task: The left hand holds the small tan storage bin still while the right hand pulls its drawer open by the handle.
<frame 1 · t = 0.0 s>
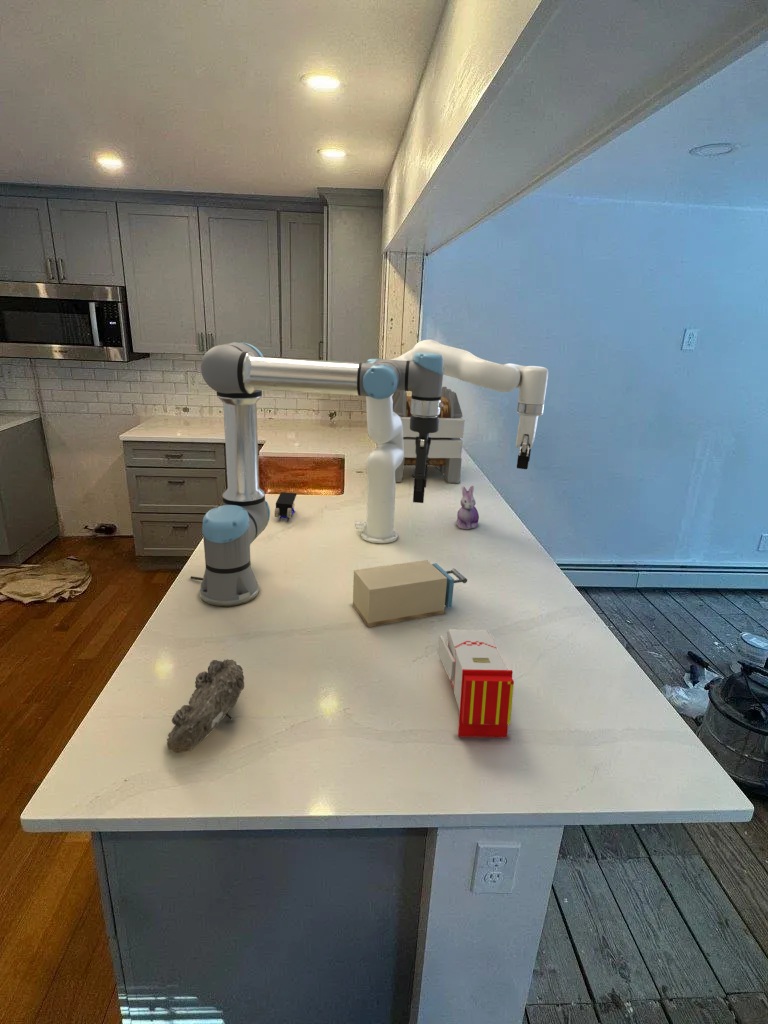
left hand: (419, 494, 153), 28 cm above the counter, tool pointing down, fingers open, 13 cm apart
right hand: (523, 464, 174), 31 cm above the counter, tool pointing down, fingers open, 9 cm apart
fossil: (212, 717, 108), on the counter
figurine: (467, 525, 210), on the counter
figurine character: (285, 517, 211), on the counter
drawer: (419, 588, 150), point 5 cm above the counter, slide at 1.3 cm
tan storage bin: (398, 609, 150), on the counter
toy: (469, 691, 119), on the counter
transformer: (419, 473, 275), on the counter
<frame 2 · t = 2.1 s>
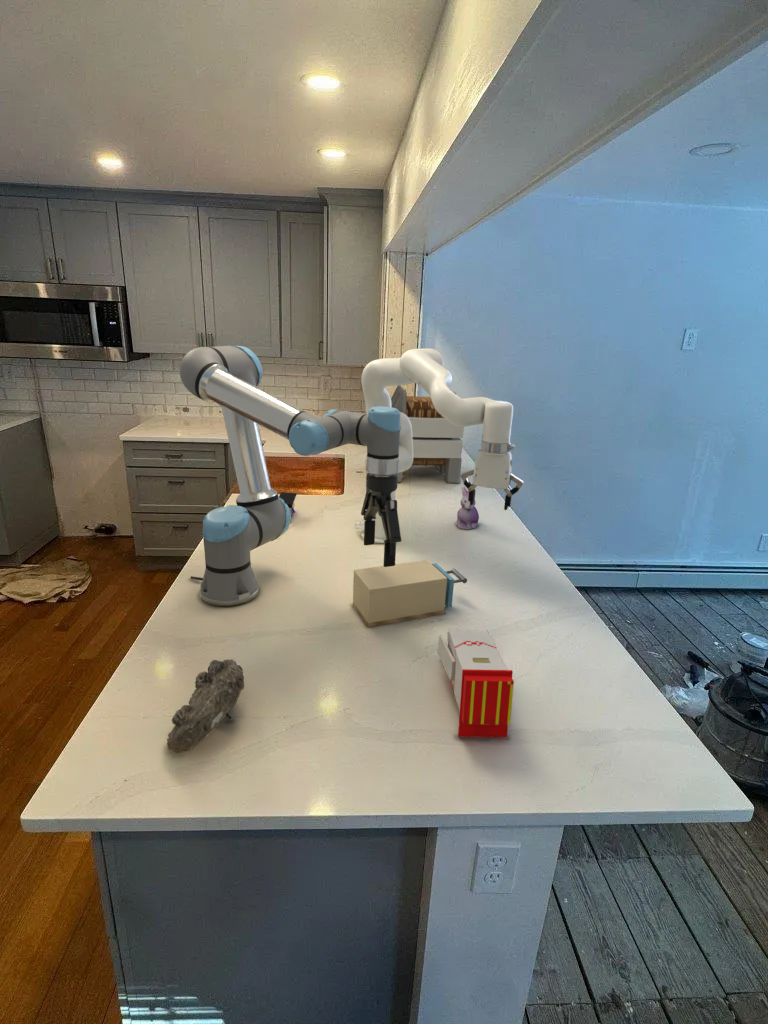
left hand: (378, 554, 142), 17 cm above the counter, tool pointing down, fingers open, 13 cm apart
right hand: (488, 506, 161), 23 cm above the counter, tool pointing down, fingers open, 9 cm apart
nothing on the counter moved.
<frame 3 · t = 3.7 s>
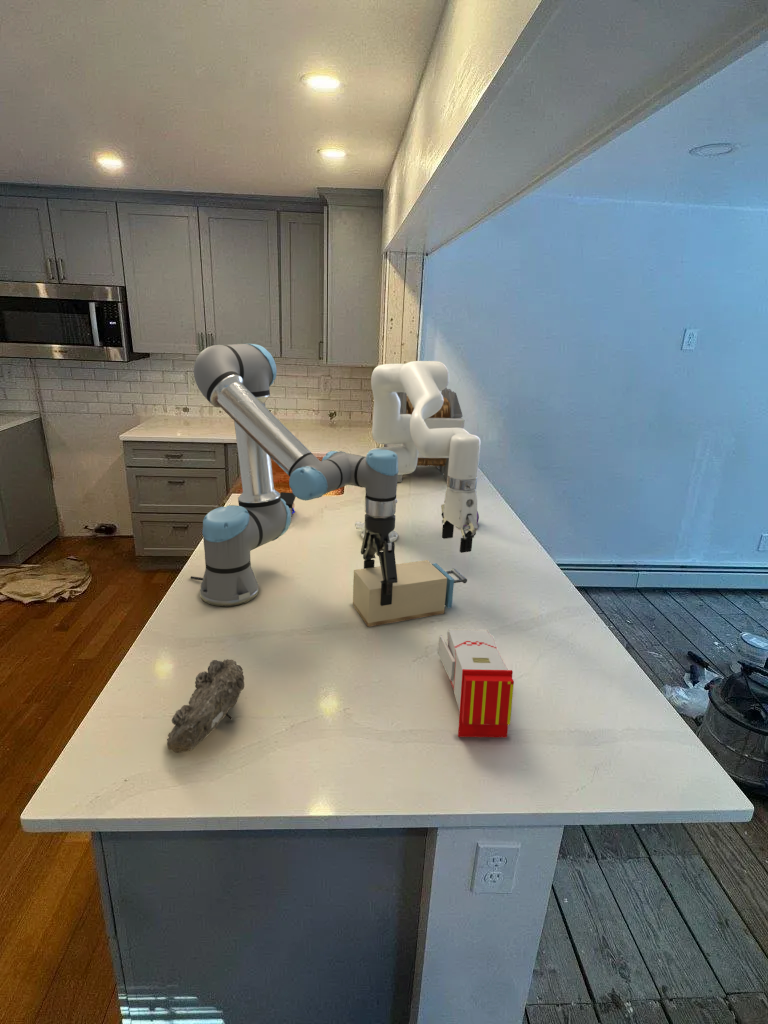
left hand: (376, 593, 146), 6 cm above the counter, tool pointing down, fingers closed on tan storage bin, 12 cm apart
right hand: (456, 544, 150), 17 cm above the counter, tool pointing down, fingers open, 9 cm apart
tan storage bin: (398, 609, 150), on the counter, touching left hand
everything else where it was.
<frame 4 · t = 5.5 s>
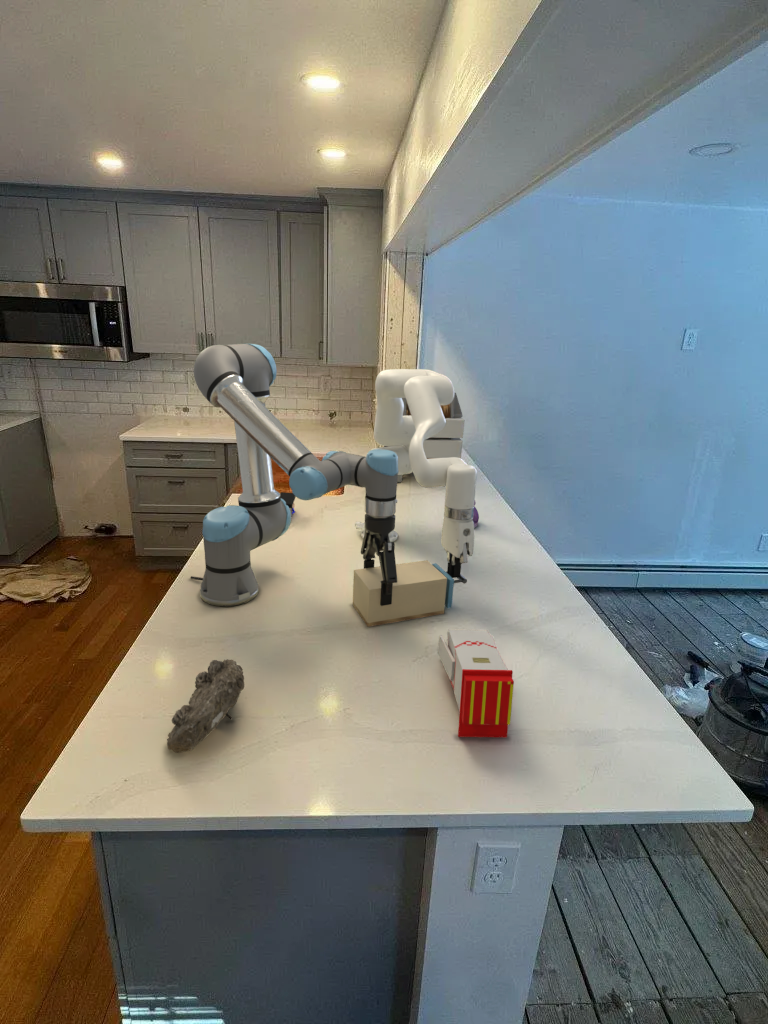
left hand: (376, 593, 146), 6 cm above the counter, tool pointing down, fingers closed on tan storage bin, 12 cm apart
right hand: (453, 576, 153), 8 cm above the counter, tool pointing down, fingers closed
drawer: (418, 588, 150), point 5 cm above the counter, slide at 1.3 cm, touching right hand
tan storage bin: (397, 609, 150), on the counter, touching left hand
everything else where it was.
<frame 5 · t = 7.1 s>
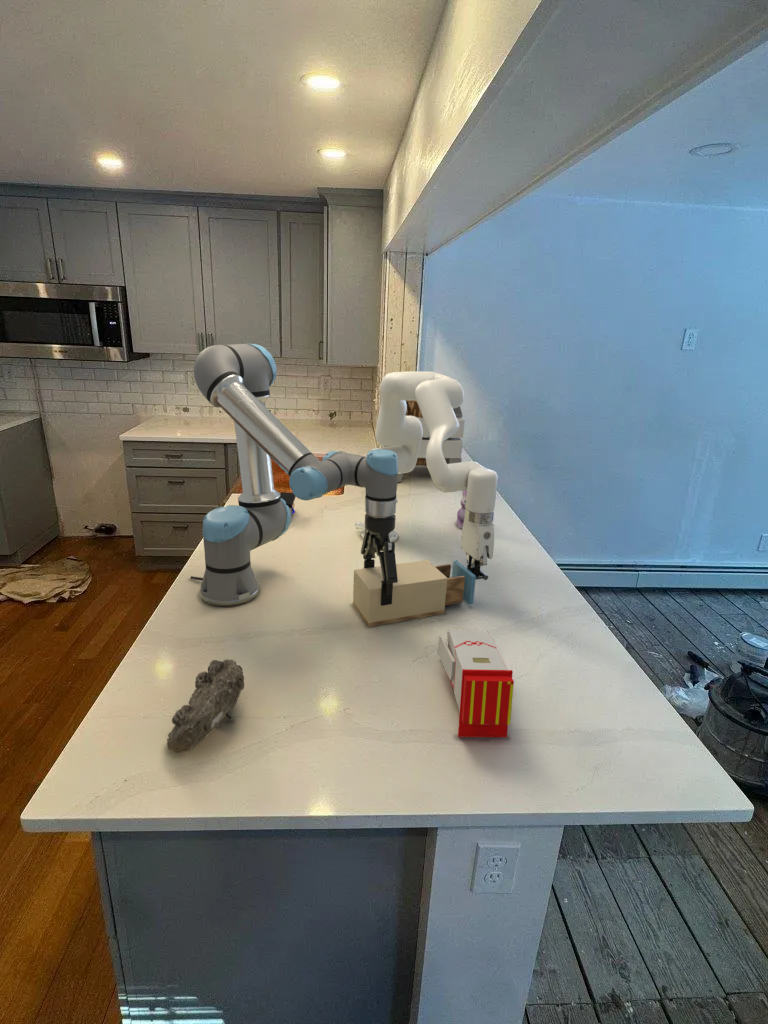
left hand: (377, 593, 146), 6 cm above the counter, tool pointing down, fingers closed on tan storage bin, 12 cm apart
right hand: (472, 578, 156), 6 cm above the counter, tool pointing down, fingers closed
drawer: (440, 585, 153), point 5 cm above the counter, slide at 7.8 cm, touching right hand
tan storage bin: (398, 609, 150), on the counter, touching left hand
everything else where it was.
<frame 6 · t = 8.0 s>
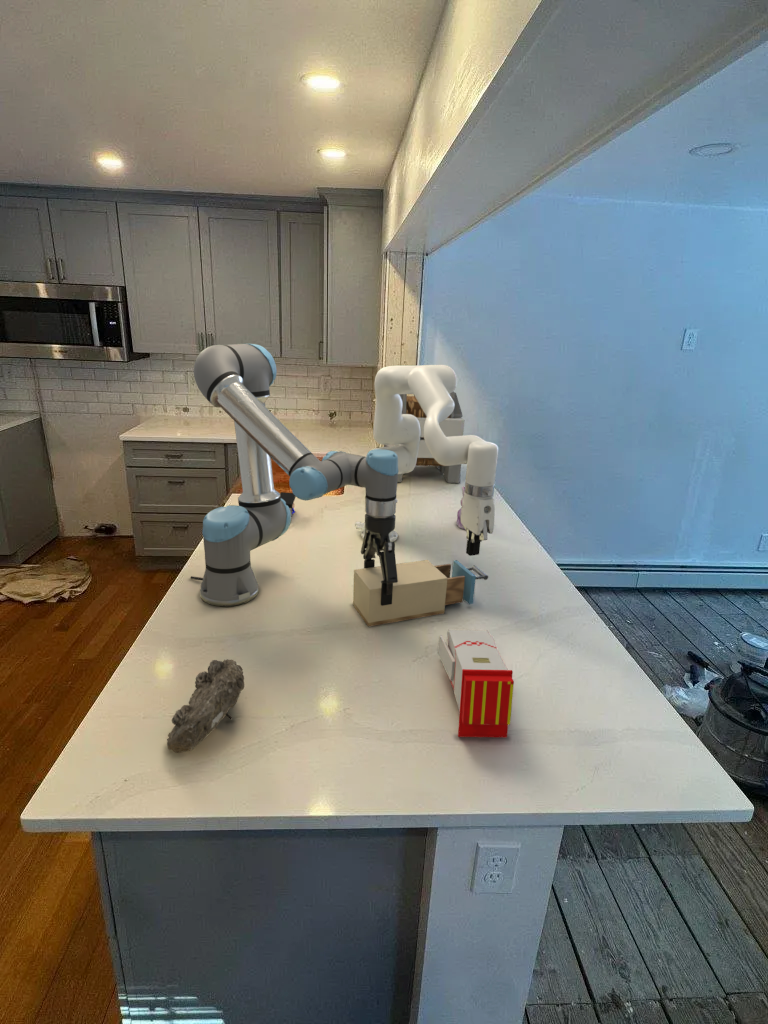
left hand: (377, 593, 146), 6 cm above the counter, tool pointing down, fingers closed on tan storage bin, 12 cm apart
right hand: (472, 553, 153), 13 cm above the counter, tool pointing down, fingers closed
drawer: (440, 585, 153), point 5 cm above the counter, slide at 7.8 cm
tan storage bin: (398, 609, 150), on the counter, touching left hand
everything else where it was.
when the left hand's fingers open (6 cm above the counter, at t = 8.7 s): tan storage bin stays where it is, on the counter.
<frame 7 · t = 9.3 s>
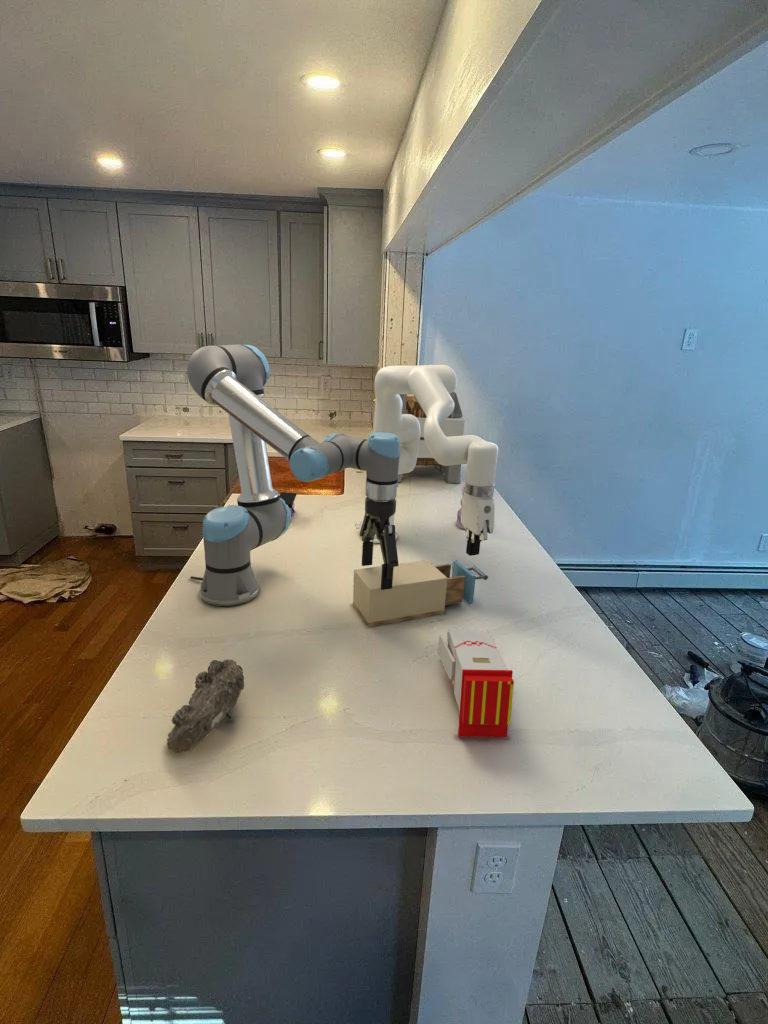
left hand: (376, 576, 144), 10 cm above the counter, tool pointing down, fingers open, 13 cm apart
right hand: (472, 553, 153), 13 cm above the counter, tool pointing down, fingers closed
tan storage bin: (398, 609, 150), on the counter
everything else where it was.
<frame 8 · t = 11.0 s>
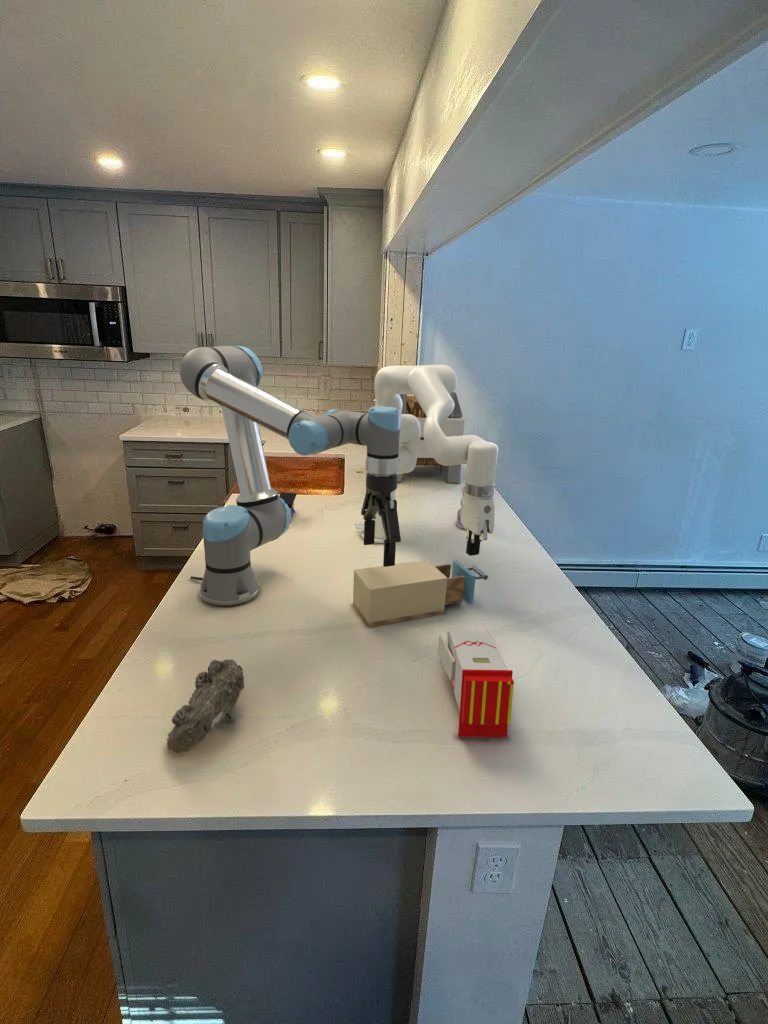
left hand: (378, 554, 142), 17 cm above the counter, tool pointing down, fingers open, 13 cm apart
right hand: (472, 553, 153), 13 cm above the counter, tool pointing down, fingers closed
nothing on the counter moved.
at the end: drawer slide at 7.8 cm; tan storage bin tilted 0°; tan storage bin never tilted more than 1° during the clip; tan storage bin moved 0.1 cm from its start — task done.
